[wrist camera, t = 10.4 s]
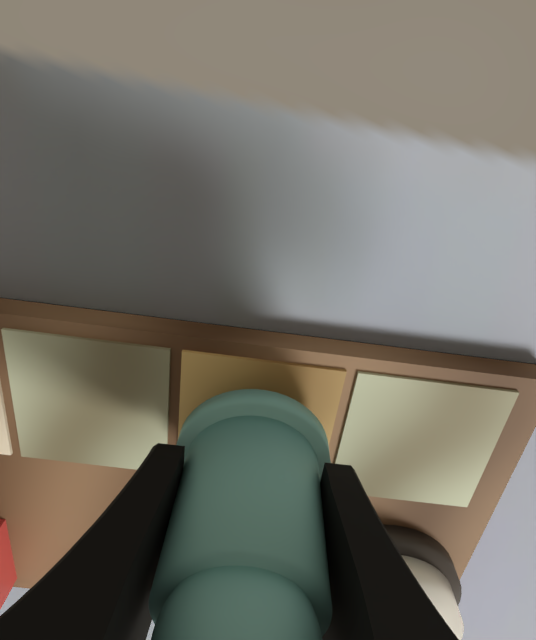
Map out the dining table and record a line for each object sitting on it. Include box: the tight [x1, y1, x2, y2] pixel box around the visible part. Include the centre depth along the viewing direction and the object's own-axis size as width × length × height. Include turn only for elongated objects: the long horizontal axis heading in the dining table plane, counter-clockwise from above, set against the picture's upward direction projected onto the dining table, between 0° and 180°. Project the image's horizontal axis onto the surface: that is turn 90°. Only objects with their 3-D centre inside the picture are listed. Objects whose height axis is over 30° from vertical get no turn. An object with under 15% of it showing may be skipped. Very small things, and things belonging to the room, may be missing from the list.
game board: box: [0, 298, 536, 606], centre depth 14 cm, size 20×11×2 cm, turn 83°
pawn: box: [149, 389, 332, 640], centre depth 9 cm, size 4×4×6 cm
